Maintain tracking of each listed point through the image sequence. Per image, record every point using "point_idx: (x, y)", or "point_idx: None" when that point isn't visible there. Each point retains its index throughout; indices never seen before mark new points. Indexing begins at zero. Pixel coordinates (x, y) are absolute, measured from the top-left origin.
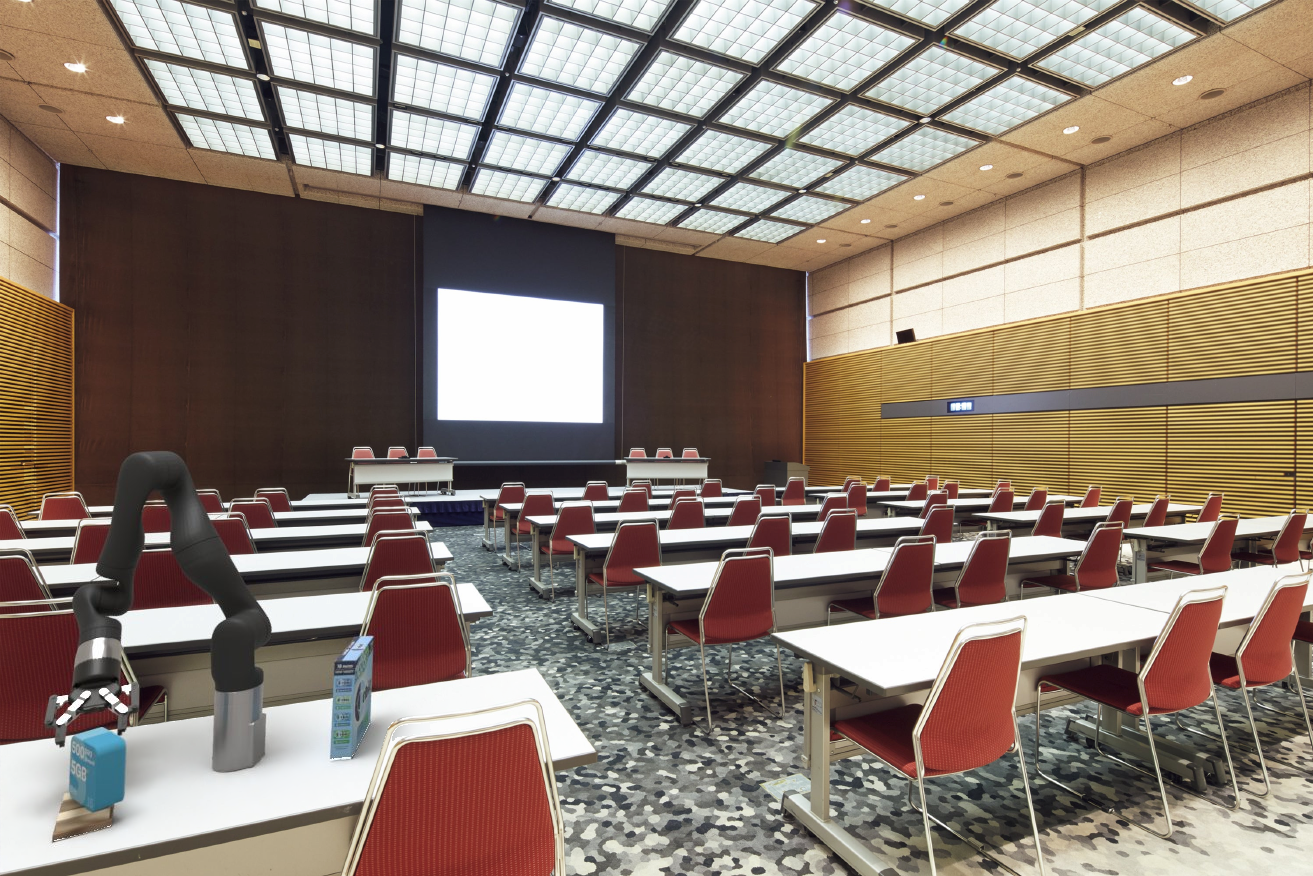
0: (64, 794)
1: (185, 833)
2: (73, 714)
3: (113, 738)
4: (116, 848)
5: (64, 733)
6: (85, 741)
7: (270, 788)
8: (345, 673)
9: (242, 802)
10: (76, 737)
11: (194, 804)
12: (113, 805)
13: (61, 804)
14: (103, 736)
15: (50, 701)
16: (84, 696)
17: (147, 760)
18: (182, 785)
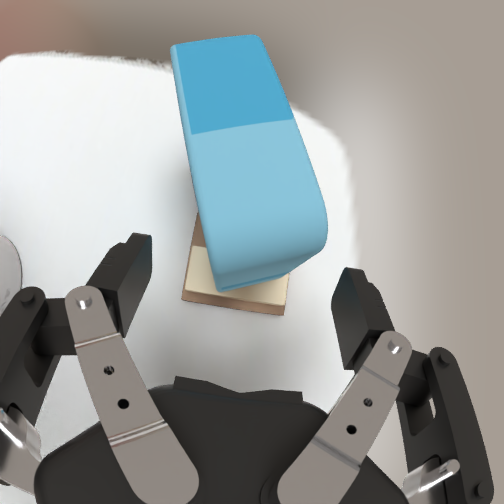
0: (285, 297)
1: (138, 70)
2: (348, 386)
3: (198, 60)
4: None
5: (357, 292)
6: (285, 97)
7: (13, 130)
8: None
9: (52, 109)
10: (315, 177)
11: (90, 146)
12: (197, 214)
13: (284, 306)
14: (223, 96)
15: (484, 464)
16: (322, 470)
17: None
18: (74, 247)
